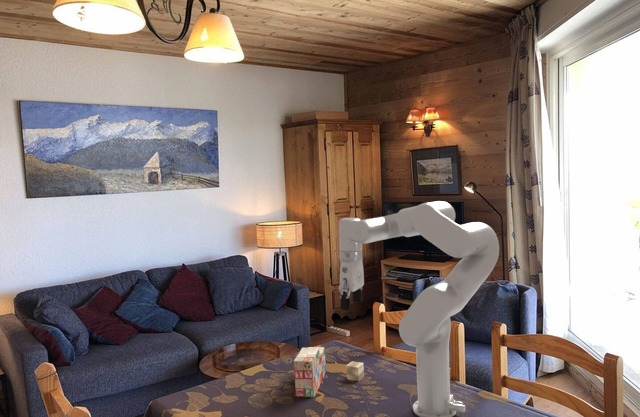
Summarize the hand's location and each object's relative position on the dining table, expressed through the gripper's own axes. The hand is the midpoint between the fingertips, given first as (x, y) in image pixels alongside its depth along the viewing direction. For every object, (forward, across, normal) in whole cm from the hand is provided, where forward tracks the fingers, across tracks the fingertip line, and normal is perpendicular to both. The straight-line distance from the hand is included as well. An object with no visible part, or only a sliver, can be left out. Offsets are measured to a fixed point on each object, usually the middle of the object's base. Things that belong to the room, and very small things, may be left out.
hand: (351, 305), depth 168 cm
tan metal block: (+28, +6, +2) cm, 28 cm away
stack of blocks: (+28, -4, +14) cm, 32 cm away
